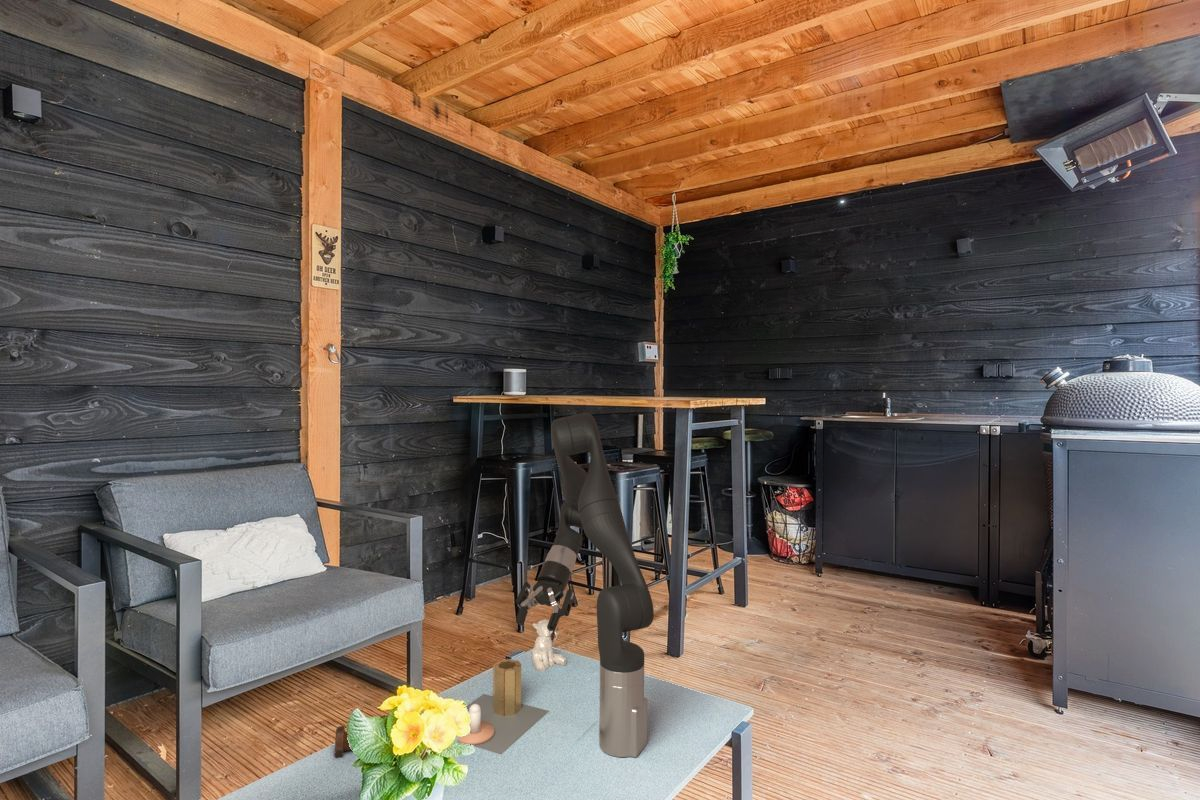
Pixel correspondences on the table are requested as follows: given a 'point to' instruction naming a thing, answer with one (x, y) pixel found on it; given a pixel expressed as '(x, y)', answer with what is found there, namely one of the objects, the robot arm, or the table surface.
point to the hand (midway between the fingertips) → (534, 626)
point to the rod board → (498, 725)
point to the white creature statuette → (545, 649)
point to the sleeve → (507, 687)
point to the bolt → (341, 742)
